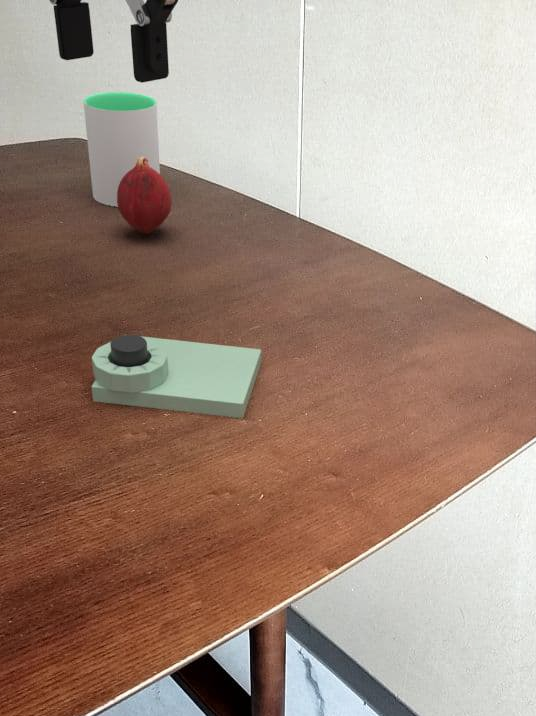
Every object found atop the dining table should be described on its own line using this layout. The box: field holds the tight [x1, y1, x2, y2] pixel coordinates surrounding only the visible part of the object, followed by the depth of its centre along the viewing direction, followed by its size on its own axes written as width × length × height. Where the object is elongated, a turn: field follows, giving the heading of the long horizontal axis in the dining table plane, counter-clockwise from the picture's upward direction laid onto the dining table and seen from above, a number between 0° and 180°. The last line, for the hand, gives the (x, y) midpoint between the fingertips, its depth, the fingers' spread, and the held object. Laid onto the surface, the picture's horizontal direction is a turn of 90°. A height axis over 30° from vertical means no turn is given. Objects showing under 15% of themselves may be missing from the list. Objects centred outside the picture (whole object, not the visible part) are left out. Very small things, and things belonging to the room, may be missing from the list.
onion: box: [117, 156, 173, 235], centre depth 93 cm, size 6×6×8 cm
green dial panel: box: [90, 335, 262, 419], centre depth 70 cm, size 12×9×3 cm
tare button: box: [109, 334, 148, 367], centre depth 68 cm, size 3×3×2 cm
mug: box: [83, 91, 161, 208], centre depth 102 cm, size 12×8×10 cm, turn 13°
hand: (113, 68), depth 72 cm, fingers open, 9 cm apart
